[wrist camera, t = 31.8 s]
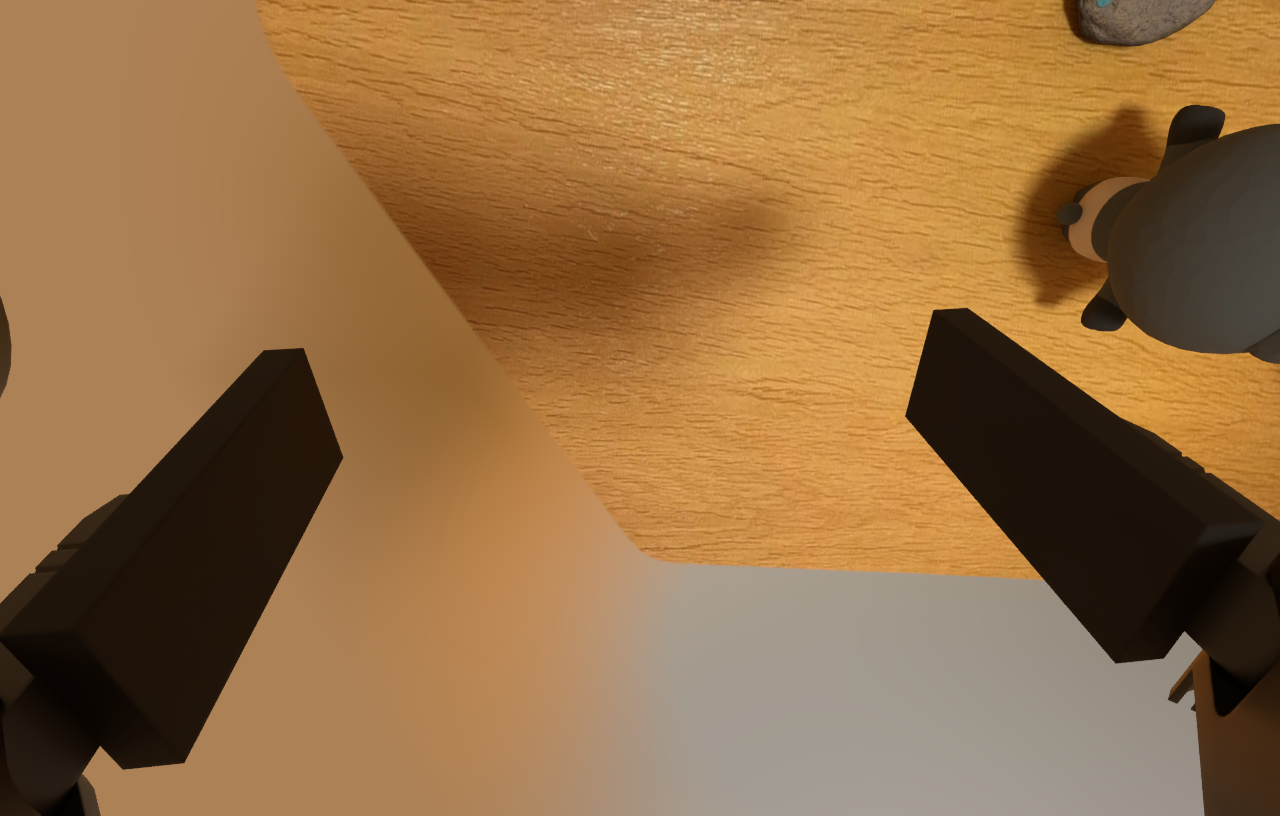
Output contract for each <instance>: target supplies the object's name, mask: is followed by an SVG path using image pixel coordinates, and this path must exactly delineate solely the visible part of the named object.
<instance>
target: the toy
mask: <svg viewBox="0 0 1280 816" xmlns="http://www.w3.org/2000/svg"><path fill="white" fill-rule="evenodd" d="M1224 121H1225V113H1224V112H1223V111H1222V110H1220V109H1217V108H1214V107H1210V106H1200V105H1190V106H1186V107H1184V108H1182V109H1180V110H1179V111H1178V113H1177V114H1176V115H1175V117H1174V118H1173V120H1172V123H1171V125H1170V129H1169V134H1168V139H1167V145H1166V151H1165V154H1164V157H1163V160H1162V163H1161V166H1160V169H1159V171H1158V173H1157V175H1156V176H1155V177H1153V178H1152V179H1151V180H1150V179H1145V178H1140V177H1116V178H1109V179H1106V180H1104V181H1101V182H1098V183H1095V184H1093V185H1090V186H1088V187H1085V188H1083V189H1082V190H1080V191H1079V192H1078V194H1077V195H1076V198H1075V202H1076V203H1075V202H1069V203H1066V204H1064V205H1062V206H1061V207H1059V209H1058V210H1057V213H1056V219H1057V220H1058V222H1059V223H1060V224H1063V225H1064V226H1063V228H1062V233H1063V235H1064V237H1065V238H1066V239H1067V241H1068V242H1069V244H1070V245H1071V246H1072V248H1073V249H1074V251H1076V252H1077V253H1078V254H1080V255H1082V256H1084V257H1087V258H1089V259H1091V260H1094V261H1098V262H1103V263H1107V267H1108V274H1109V277H1108V278H1107V280H1106V282H1105V283H1104V285H1103V286H1102V288H1101V289H1100V291H1099V292H1098V293H1097V294H1096V295H1095V297H1094V298H1093V299H1092V300H1091V301H1090V302H1089V304H1088V305H1087V306H1086V308H1085V309H1084V311H1083V313H1082V316H1081V323H1082V324H1083V326H1085V327H1086V328H1089V329H1094V330H1098V331H1116V330H1118V329H1119V328H1120V327H1121V326H1122V325H1123V324H1124V322H1125V321H1126V319H1127V318H1129V320H1130V321H1131V322H1133V323H1134V324H1135V325H1136V326H1137V327H1139V328H1140V329H1141V330H1142V331H1143V332H1145V333H1146V334H1147V335H1149V336H1151V337H1153V338H1155V339H1157V340H1159V341H1161V342H1163V343H1165V344H1168V345H1171V346H1174V347H1177V348H1179V349H1183V350H1189V351H1194V352H1200V353H1217V354H1233V353H1247V352H1249V353H1250V354H1252V355H1253V356H1255V357H1257V358H1259V359H1261V360H1263V361H1266V362H1270V363H1276V364H1280V124H1271V125H1264V126H1259V127H1254V128H1249V129H1246V130H1242V131H1239V132H1235V133H1232V134H1228V135H1225V136H1223V137H1220V138H1218V137H1219V135H1220V133H1221V130H1222V127H1223V124H1224Z"/></svg>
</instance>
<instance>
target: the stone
mask: <svg viewBox="0 0 1280 816" xmlns="http://www.w3.org/2000/svg"><path fill="white" fill-rule="evenodd" d="M1215 1H1216V0H1077V7H1078V10H1079V16H1078V20H1079V28H1080V31H1081V33H1082V34H1083V36H1084V37H1085V38H1087V39H1088V40H1092V41H1094V42H1097V43H1106V44H1118V45H1125V46H1141V45H1144V44H1148V43H1152V42H1155V41H1157V40H1160V39H1163V38H1165V37H1168V36H1170V35H1171V34H1173V33H1175V32H1177V31H1179V30H1181V29H1183V28H1185V27H1186V26H1188V25H1189V24H1190V23H1192V22H1193V21H1194V20H1196V19H1197V18H1199V17H1200V16H1201V15H1203V14H1204V13H1205V12H1206V11H1208V10H1209V9H1210V8H1211V7H1212V5H1213V3H1214V2H1215Z"/></svg>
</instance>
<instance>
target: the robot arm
mask: <svg viewBox="0 0 1280 816" xmlns="http://www.w3.org/2000/svg"><path fill="white" fill-rule="evenodd" d="M905 417H906V418H907V419H908V420H909V421H910V423H911V424H912V425H913V426H914V427H915V428H916V430H917V431H918V432H919V433H920V434H921V436H922V437H923V438H924V439H925V440H926V441H927V443H928V444H929V445H930V446H931V447H932V448H933V450H934V451H935V452H936V453H937V454H938V455H939V457H940V458H941V459H942V460H943V461H944V463H945V464H946V465H947V466H948V467H949V468H950V470H951V471H952V472H953V473H954V474H955V475H956V477H957V478H958V479H959V480H960V481H961V483H962V484H963V485H964V486H965V487H966V488H967V490H968V491H969V492H970V493H971V494H972V495H973V497H974V498H975V499H976V500H977V501H978V503H979V504H980V505H981V506H982V507H983V508H984V510H985V511H986V512H987V513H988V514H989V515H990V517H991V518H992V519H993V520H994V521H995V522H996V524H997V525H998V526H999V527H1000V528H1001V530H1002V531H1003V532H1004V533H1005V534H1006V535H1007V537H1008V538H1009V539H1010V540H1011V541H1012V542H1013V544H1014V545H1015V546H1016V547H1017V548H1018V550H1019V551H1020V552H1021V553H1022V554H1023V555H1024V557H1025V558H1026V559H1027V560H1028V561H1029V562H1030V564H1031V565H1032V566H1033V567H1034V568H1035V569H1036V571H1037V572H1038V573H1039V574H1040V575H1041V577H1042V578H1043V579H1044V580H1045V581H1046V582H1047V584H1048V585H1049V586H1050V587H1051V588H1052V589H1053V591H1054V592H1055V593H1056V594H1057V595H1058V597H1059V598H1060V599H1061V600H1062V601H1063V602H1064V604H1065V605H1066V606H1067V607H1068V608H1069V609H1070V611H1071V612H1072V613H1073V614H1074V615H1075V616H1076V617H1077V619H1078V620H1079V621H1080V622H1081V624H1082V625H1083V626H1084V627H1085V628H1086V629H1087V630H1088V632H1089V633H1090V634H1091V635H1092V636H1093V638H1094V639H1095V640H1096V641H1097V642H1098V644H1099V645H1100V646H1101V647H1102V648H1103V649H1104V651H1106V653H1107V654H1108V655H1109V656H1110V658H1111V659H1112V660H1113V661H1114V662H1115V663H1126V662H1135V661H1144V660H1154V659H1163V658H1164V657H1165V656H1166V655H1167V653H1168V652H1169V651H1170V649H1171V648H1172V647H1173V645H1174V644H1175V643H1176V641H1177V640H1178V639H1179V637H1180V636H1181V635H1182V633H1183V632H1184V631H1185V632H1186V633H1187V634H1188V635H1189V636H1190V637H1191V638H1192V639H1193V640H1194V641H1196V643H1197V644H1198V645H1200V647H1201V648H1202V649H1203V650H1202V651H1201V652H1200V653H1199V655H1198V656H1197V657H1196V658H1195V660H1194V661H1193V662H1192V663H1191V665H1190V666H1189V667H1188V669H1187V670H1186V671H1185V672H1184V674H1183V675H1182V676H1181V678H1180V679H1179V680H1178V681H1177V682H1176V684H1175V685H1174V686H1173V687H1172V689H1171V691H1170V695H1169V698H1168V700H1170V701H1172V702H1175V703H1178V702H1179V701H1180V700H1181V698H1182V697H1183V696H1184V695H1185V694H1186V692H1188V691H1191V690H1194V694H1195V704H1194V705H1193V706H1192V708H1191V710H1193V711H1195V712H1196V718H1197V729H1198V742H1199V754H1200V765H1201V777H1202V789H1203V801H1204V812H1205V816H1280V521H1278V520H1277V519H1276V518H1274V517H1273V516H1271V515H1270V514H1268V513H1267V512H1266V511H1264V510H1263V509H1261V508H1260V507H1259V506H1257V505H1256V504H1254V503H1253V502H1251V501H1250V500H1249V499H1247V498H1246V497H1244V496H1243V495H1241V494H1240V493H1239V492H1237V491H1236V490H1234V489H1233V488H1232V487H1230V486H1229V485H1227V484H1226V483H1224V482H1223V481H1222V480H1220V479H1219V478H1217V477H1216V476H1214V475H1213V474H1212V473H1205V471H1204V470H1205V469H1204V468H1203V467H1202V466H1200V465H1199V464H1197V463H1196V462H1195V461H1193V460H1192V459H1190V458H1189V457H1183V456H1182V452H1180V451H1179V450H1177V449H1176V448H1175V447H1173V446H1172V445H1170V444H1169V443H1168V442H1166V441H1165V440H1163V439H1162V438H1160V437H1159V436H1158V435H1156V434H1155V433H1153V432H1151V431H1148V430H1146V429H1144V428H1142V427H1140V426H1137V425H1135V424H1133V423H1131V422H1129V421H1127V420H1124V419H1122V418H1120V417H1118V416H1117V415H1116V414H1114V413H1113V412H1111V411H1110V410H1109V409H1107V408H1106V407H1105V406H1103V405H1102V404H1100V403H1099V402H1098V401H1096V400H1095V399H1093V398H1092V397H1091V396H1089V395H1088V394H1086V393H1085V392H1084V391H1082V390H1081V389H1079V388H1078V387H1077V386H1075V385H1074V384H1073V383H1071V382H1070V381H1068V380H1067V379H1066V378H1064V377H1063V376H1061V375H1060V374H1059V373H1057V372H1056V371H1054V370H1053V369H1052V368H1050V367H1049V366H1047V365H1046V364H1045V363H1043V362H1042V361H1040V360H1039V359H1038V358H1036V357H1035V356H1034V355H1032V354H1031V353H1029V352H1028V351H1027V350H1025V349H1024V348H1022V347H1021V346H1020V345H1018V344H1017V343H1015V342H1014V341H1013V340H1011V339H1010V338H1008V337H1007V336H1006V335H1004V334H1003V333H1002V332H1000V331H999V330H997V329H996V328H995V327H993V326H992V325H990V324H989V323H988V322H986V321H985V320H983V319H982V318H981V317H979V316H978V315H976V314H975V313H974V312H972V311H971V310H970V309H968V308H959V309H942V310H933V314H932V317H931V321H930V325H929V329H928V333H927V336H926V340H925V344H924V348H923V351H922V355H921V359H920V363H919V366H918V370H917V374H916V378H915V381H914V385H913V389H912V393H911V396H910V400H909V404H908V408H907V411H906V415H905ZM342 459H343V455H342V453H341V450H340V447H339V444H338V442H337V439H336V436H335V433H334V431H333V428H332V425H331V423H330V420H329V417H328V414H327V411H326V409H325V406H324V403H323V400H322V398H321V395H320V392H319V389H318V387H317V384H316V381H315V378H314V376H313V373H312V370H311V368H310V365H309V362H308V359H307V356H306V354H305V351H304V349H303V348H296V349H279V350H264V351H263V352H262V353H261V354H260V355H259V356H258V357H257V358H256V359H255V360H254V361H253V362H252V363H251V365H250V366H249V367H248V368H247V369H246V370H245V371H244V372H243V373H242V374H241V376H239V377H238V378H237V379H236V381H235V382H234V383H233V384H232V385H231V386H230V387H229V388H228V389H227V390H226V391H225V392H224V394H223V395H222V396H221V397H220V398H219V399H218V400H217V401H216V402H215V403H214V404H213V405H212V406H211V407H210V409H208V411H207V412H206V413H205V414H204V415H203V416H202V417H201V418H200V419H199V420H198V421H197V422H196V423H195V425H194V426H193V427H192V428H191V429H190V430H189V431H188V432H187V433H186V434H185V435H184V436H183V437H182V438H181V439H180V441H179V442H178V443H177V444H176V445H175V446H174V447H173V448H172V449H171V450H170V451H169V452H168V454H166V456H165V457H164V458H163V459H162V460H161V461H160V462H159V463H158V464H157V465H156V466H155V467H154V468H153V469H152V471H151V472H150V473H149V474H148V475H147V476H146V477H145V478H144V479H143V480H142V481H141V483H139V484H138V486H137V487H136V488H135V489H134V490H133V491H132V492H131V493H130V494H125V495H119V496H117V497H116V498H114V499H113V500H111V501H110V502H108V503H107V504H105V505H104V506H102V507H100V508H99V509H97V510H96V511H94V512H93V513H92V514H90V515H88V516H87V517H85V518H84V519H83V520H82V521H81V522H80V523H79V524H78V525H77V526H76V527H75V528H74V529H73V530H72V531H71V532H70V533H69V534H68V535H67V536H66V537H65V538H64V539H63V540H62V541H61V542H60V543H59V544H58V545H57V546H58V549H57V551H51V552H50V553H49V554H48V555H47V556H46V557H45V558H44V559H43V560H42V562H41V563H40V564H39V565H38V566H37V567H36V568H35V569H36V572H35V573H33V574H29V575H28V576H27V577H26V578H25V579H24V580H23V581H22V582H21V583H20V584H19V585H18V586H17V587H16V588H15V589H14V590H13V591H12V592H11V593H10V594H9V595H8V596H7V597H6V598H5V599H4V600H3V601H2V602H1V604H0V816H101V815H100V811H99V807H98V803H97V799H96V794H95V790H94V788H93V787H92V785H91V784H90V782H89V781H88V780H87V778H86V777H85V776H84V775H83V774H82V772H83V771H84V769H85V768H86V766H87V765H88V763H89V762H90V760H91V758H92V757H93V756H94V754H95V752H96V751H97V749H98V748H99V746H101V747H102V748H103V749H104V750H105V751H106V752H107V754H108V755H109V756H110V757H111V758H112V759H113V760H114V761H115V762H116V763H117V764H118V765H119V766H120V767H121V768H122V769H123V770H124V769H134V768H143V767H152V766H162V765H171V764H180V763H185V761H186V759H187V757H188V755H189V753H190V751H191V749H192V747H193V745H194V743H195V741H196V739H197V737H198V736H199V734H200V732H201V730H202V728H203V726H204V724H205V722H206V720H207V718H208V716H209V715H210V713H211V711H212V709H213V707H214V705H215V703H216V701H217V699H218V697H219V695H220V693H221V691H222V690H223V688H224V686H225V684H226V682H227V680H228V678H229V676H230V674H231V672H232V670H233V668H234V667H235V664H236V663H237V661H238V659H239V657H240V655H241V653H242V651H243V649H244V647H245V645H246V643H247V641H248V639H249V638H250V636H251V634H252V632H253V630H254V628H255V626H256V624H257V622H258V620H259V619H260V617H261V614H262V613H263V611H264V609H265V607H266V605H267V603H268V601H269V599H270V597H271V595H272V594H273V592H274V589H275V588H276V586H277V584H278V582H279V580H280V578H281V576H282V574H283V572H284V570H285V569H286V566H287V564H288V563H289V561H290V559H291V557H292V555H293V553H294V551H295V549H296V547H297V546H298V544H299V542H300V540H301V538H302V536H303V534H304V532H305V530H306V528H307V526H308V524H309V522H310V521H311V519H312V517H313V514H314V513H315V511H316V509H317V507H318V505H319V503H320V501H321V499H322V497H323V496H324V494H325V492H326V490H327V488H328V486H329V484H330V482H331V480H332V478H333V476H334V474H335V473H336V471H337V469H338V467H339V465H340V463H341V461H342Z"/></svg>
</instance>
